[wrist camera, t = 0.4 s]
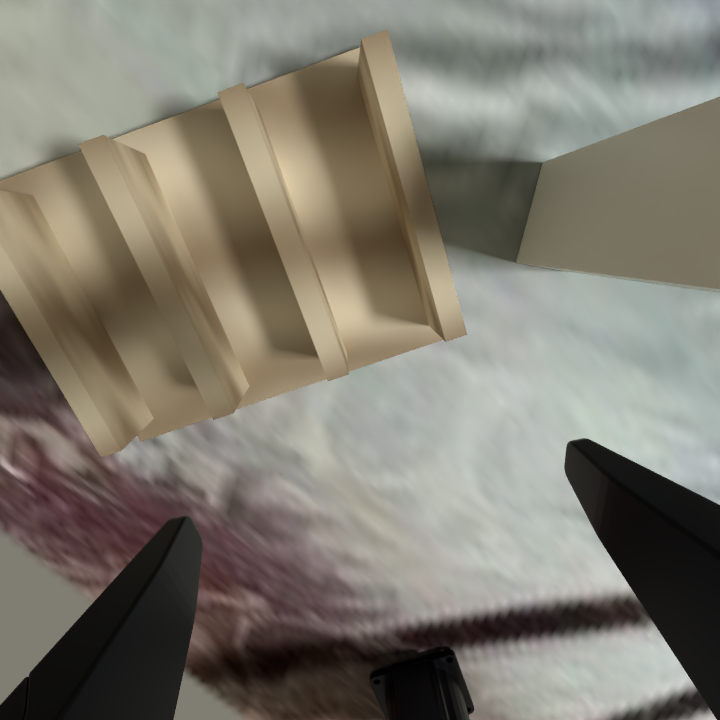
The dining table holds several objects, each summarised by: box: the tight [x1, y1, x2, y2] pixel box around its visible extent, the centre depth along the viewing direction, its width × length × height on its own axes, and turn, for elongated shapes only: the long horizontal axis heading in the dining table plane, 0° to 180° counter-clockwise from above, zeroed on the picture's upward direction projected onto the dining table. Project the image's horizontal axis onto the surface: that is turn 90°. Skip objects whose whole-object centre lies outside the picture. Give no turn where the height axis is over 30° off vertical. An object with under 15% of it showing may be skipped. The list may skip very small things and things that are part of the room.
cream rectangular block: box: [516, 97, 720, 293], centre depth 15 cm, size 5×3×13 cm, turn 170°
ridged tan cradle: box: [0, 30, 467, 457], centre depth 19 cm, size 14×18×4 cm
